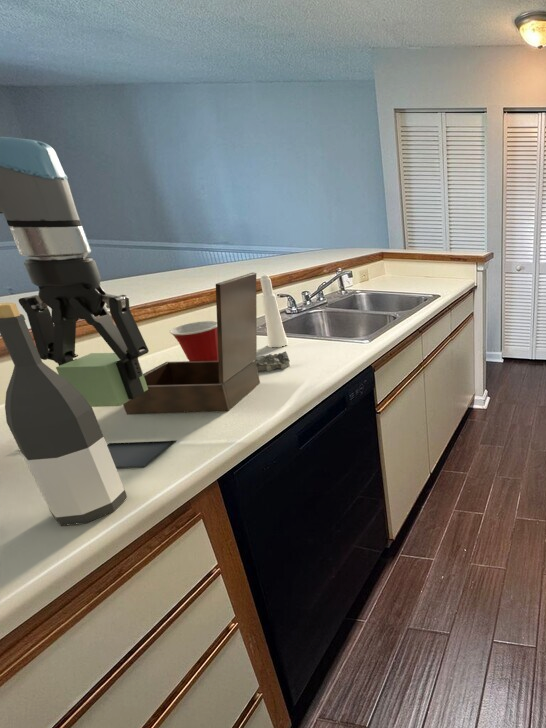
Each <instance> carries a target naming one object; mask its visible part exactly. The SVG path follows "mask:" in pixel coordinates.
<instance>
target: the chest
mask: <svg viewBox="0 0 546 728" xmlns="http://www.w3.org/2000/svg"><path fill="white" fill-rule="evenodd" d="M143 375H144V378H145V381H146V384H147V387H148V390H147V391H145V392H144V393H143V394H142V395H140V396H138V397H137V398H135V399H131V400H129V401H128V402H126V403H124V404H122V405H123V409H124V411H125V414H126V415H151V414H153V415H155V414H181V413H182V414H185V413H186V414H187V413H214V412H230V411H231V410H232V409H233V408H234V407H235V406H236V405H238V404H239V403H240V402H241V401H242V400H243V399H244V398H245V397H246V396H248V395H249V394H250V393H251V392H252V391H253V390H255V389H256V388H257V387H258V386H259V385H260V384H261V379H260V375H259V372H258V371H257V366H256V362H255V360H254V361H253V362H251V363H250V364H249V365H247V366H246V367H245V368H243V369H242V370H241V371H239V372H238V373H237V374H235V375H234V376H232V377H231V378H230V379H228V380H227V381H226V382H224V383H219V362H218V361H189V360H188V361H184V360H183V361H164V362H163V363H161V364H159V365H157V366H156V367H153V368H152V369H150V370H148V371H146V372H144V373H143Z"/></svg>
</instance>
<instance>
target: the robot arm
mask: <svg viewBox="0 0 546 728" xmlns="http://www.w3.org/2000/svg"><path fill="white" fill-rule="evenodd" d="M68 179H69V177H68V175H67V174H66V173H65V171H64V168H63V166H62V164H61V161H60V160H59V157H58V154H57V151H56V150H55V149H54V148H53V147H52V146H51V145H49V144H48V143H47V142H43V141H40V140H36V139H35V140H34V139H28V138H20V137H10V136H0V214H2V215H3V216H4V218H5V220H6V223H7V226H8V228H9V230H10V233H11V235H12V237H13V240H14V243H15V245H16V248H17V250H18V254H19V255H21V256H22V257H27V259H25V260H24V262H23V265H24V267H25V270H26V272H27V274H28V277H29V279H30V281H31V283H32V284H33V285H34V286H37V288H38V294H35V295H34V294H33V295H30V296H25V297H21V298H19V299H18V303H19V305H20V306H21V307H22V309H23V310H24V312H25V314H26V316H27V319H28V323H29V326H30V329H31V333H32V336H33V337H32V338H33V341H34V344H35V346H36V348H37V351H38V353H39V355H40V358H41V360H42V361H47V360H48V361H49V360H50V361H53V362H54V363H56V364H57V366H60V365H63V364H65V363H68V362H71V361H73V360H76V359H77V357H78V358H79V354H77V353H76V335H77V334H76V333H77V332H76V331H77V322H78V321H79V320H84V321H86V323H87V324H88V325H90V326H92V327H93V328H94V329H95V330H96V332H97V333H98V334H99V336H100V337H101V338H102V339H103V340H104V342H105V343H106V344H107V345H108V347H109V348H110V349H111V350H112V351H113V353H115V354H116V355H117V356H118V358H119V359H120V360H119V361H117V363H116V365H117V368H118V371H119V374H120V376H121V379H122V382H123V385H124V387H125V390H126V393H127V396H128V398H129V399H135V398H137V397H138V396H140V395H142V394H143V393H144V390H143V387H142V384H141V381H140V378H139V377H141V376H142V372H143V370H142V371H141V369H142V367H141V368H140V366H141V364H140V365H139V363H140V361H139V362H138V360H139V358H140V357H142V356H144V355H146V354H149V348H148V346H147V343H146V341H145V338H144V337H143V335H142V333H141V331H140V329H139V326H138V324H137V322H136V320H135V318H134V316H133V314H132V312H131V308H130V298H129V296H128V295H126V294H120V295H115V294H109V293H107V291H105V290H104V288H103V287H102V286H101V279H102V277H101V274H100V271H99V268H98V265H97V263H96V260H95V258H93V257H92V256H88V255H89V254H91V252H92V249H91V247H90V243H89V240H88V237H87V235H86V231H85V230H84V227H83V223H82V221H81V219H80V217H79V214H78V210H77V207H76V204H75V200H74V197H73V194H72V191H71V187H70V184H69V181H68ZM50 309H51V311H50ZM108 309H109V311H108Z"/></svg>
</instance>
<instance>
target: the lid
mask: <svg viewBox="0 0 546 728" xmlns="http://www.w3.org/2000/svg"><path fill="white" fill-rule="evenodd" d="M215 305H216V307H215V308H216V322H217V335H218V362H219V383H224V382H226V381H227V380H228V379H230V378H231V377H232V376H234V375H235V374H237V373H238V372H239V371H241V370H242V369H243V368H245V367H246V366H247V365H249V364H250V363H251V362H253V361H254V360H255V359H257V357H258V356H257V355H258V354H257V352H258V351H257V350H258V349H257V348H258V347H257V345H258V343H257V342H258V341H257V339H258V338H257V336H258V335H257V328H258V326H257V323H258V322H257V319H258V317H257V316H258V315H257V310H258V309H257V308H258V307H257V272H250V273H246V274H243V275H240V276H237V277H234V278H230V279H227V280H224V281H221V282H217V283H215Z"/></svg>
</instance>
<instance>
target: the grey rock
mask: <svg viewBox="0 0 546 728" xmlns="http://www.w3.org/2000/svg"><path fill="white" fill-rule="evenodd" d="M255 362H256V366H257V371H258V373H259V372H263V371H266V372H269V371H273V370H275V369H281V370H282V369H287V368H288V367H290V366H291V365H290V358H289V355H288V353H287V351H283V352H278V353H274V354H272V353H269V354H267V355H261V356H257V359H255Z"/></svg>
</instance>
